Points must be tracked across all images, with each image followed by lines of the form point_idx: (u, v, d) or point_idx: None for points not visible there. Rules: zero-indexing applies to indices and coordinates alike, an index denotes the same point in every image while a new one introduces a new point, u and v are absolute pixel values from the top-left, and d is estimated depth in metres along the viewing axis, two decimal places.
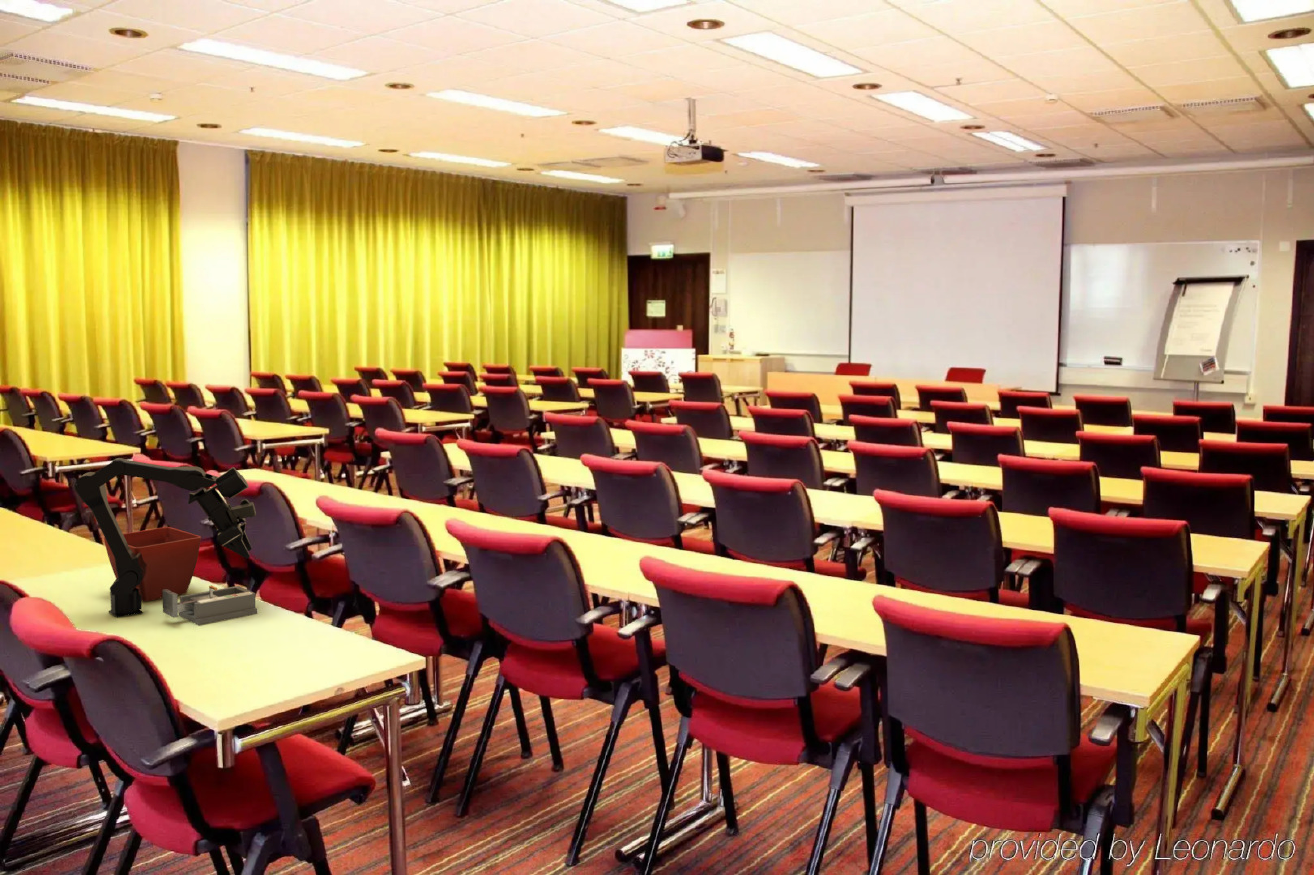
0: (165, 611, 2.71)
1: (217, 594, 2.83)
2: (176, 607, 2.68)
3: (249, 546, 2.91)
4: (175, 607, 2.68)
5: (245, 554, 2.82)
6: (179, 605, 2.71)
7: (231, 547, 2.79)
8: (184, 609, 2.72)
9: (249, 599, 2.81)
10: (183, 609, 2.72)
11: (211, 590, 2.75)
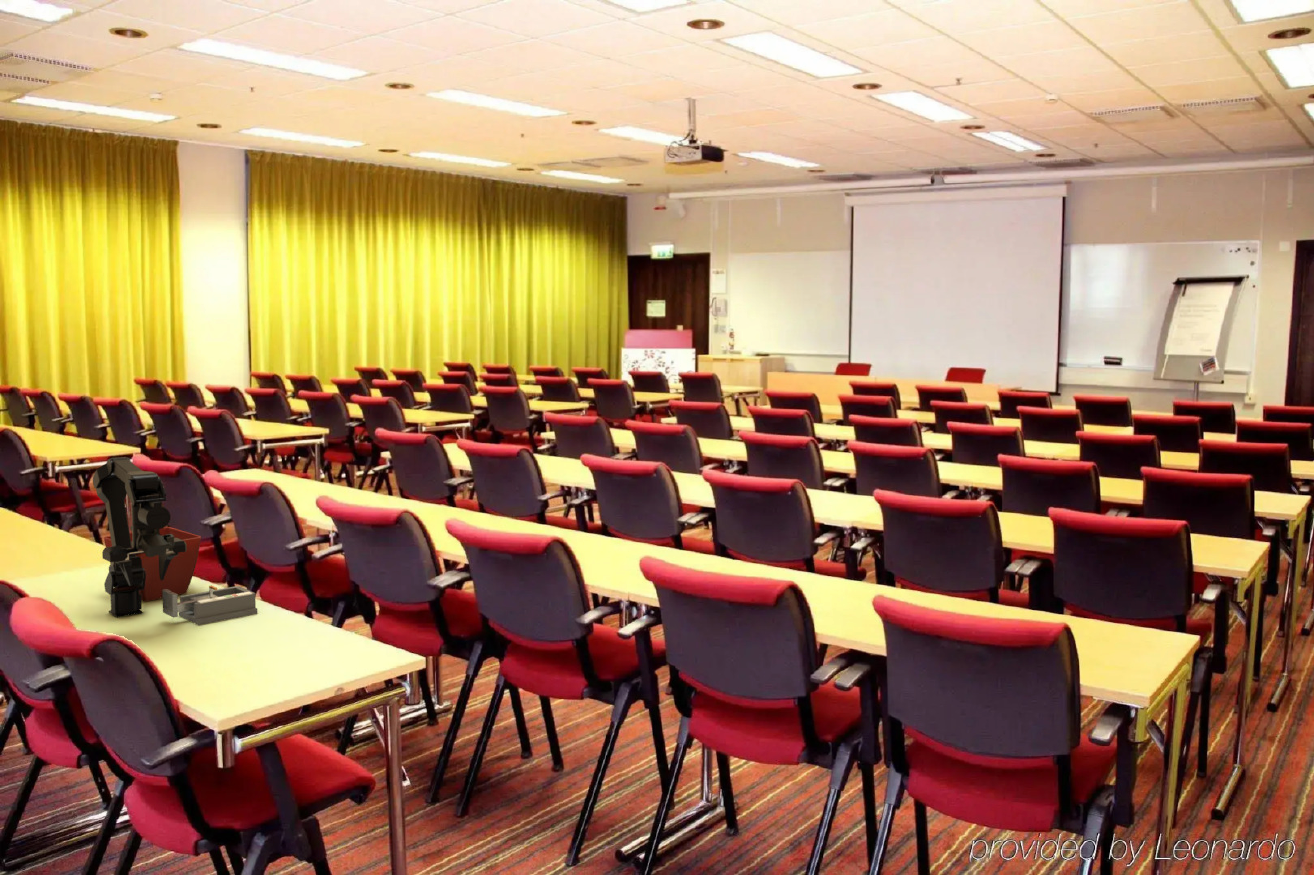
0: (165, 611, 2.71)
1: (217, 594, 2.83)
2: (176, 607, 2.68)
3: (161, 576, 2.67)
4: (175, 607, 2.68)
5: (128, 581, 2.62)
6: (179, 605, 2.71)
7: (120, 565, 2.62)
8: (184, 609, 2.72)
9: (249, 599, 2.81)
10: (183, 609, 2.72)
11: (211, 590, 2.75)
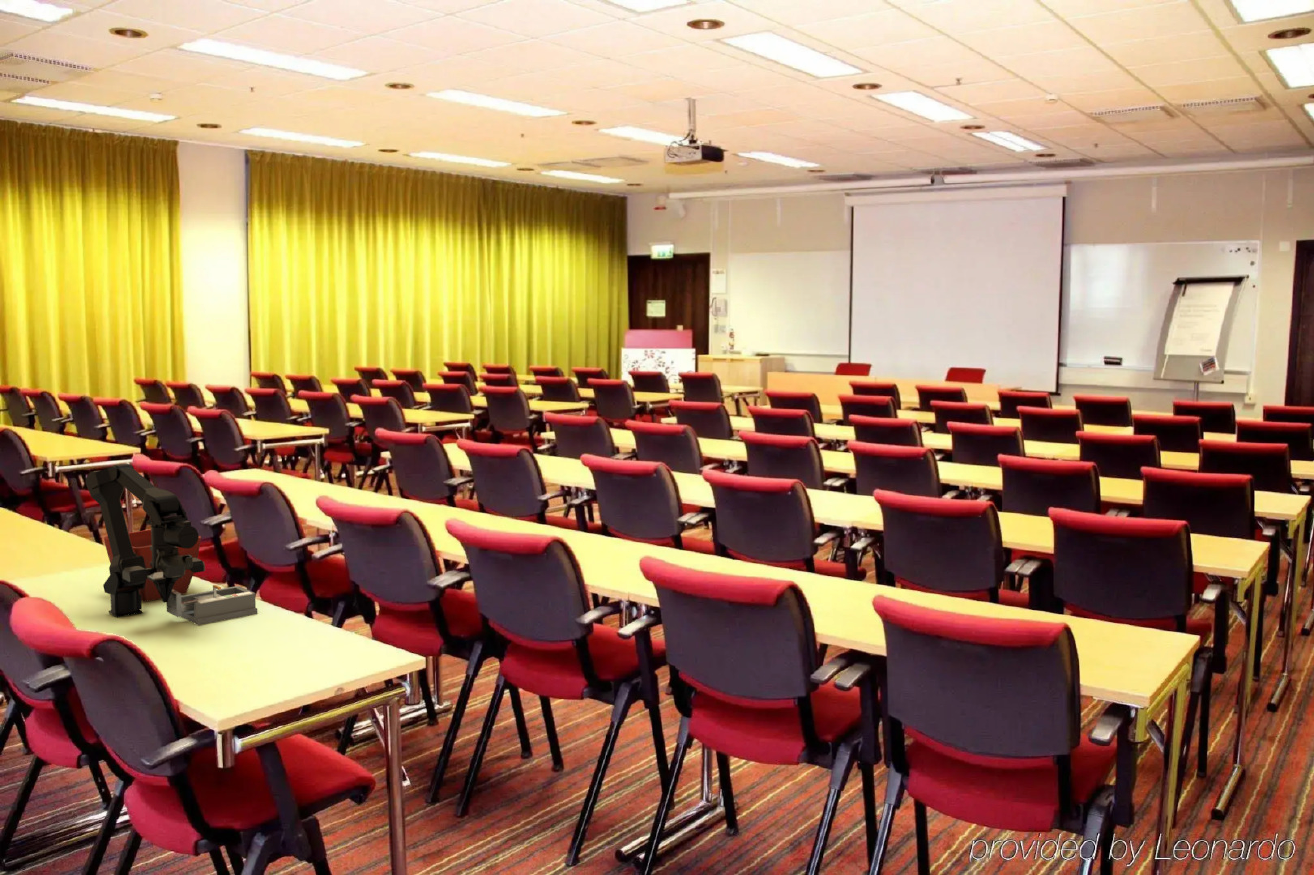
0: (169, 611, 2.72)
1: None
2: (180, 606, 2.69)
3: (165, 598, 2.69)
4: (179, 606, 2.69)
5: (163, 598, 2.69)
6: (183, 604, 2.72)
7: (154, 583, 2.68)
8: (188, 608, 2.73)
9: (249, 599, 2.81)
10: (187, 608, 2.73)
11: (215, 589, 2.76)
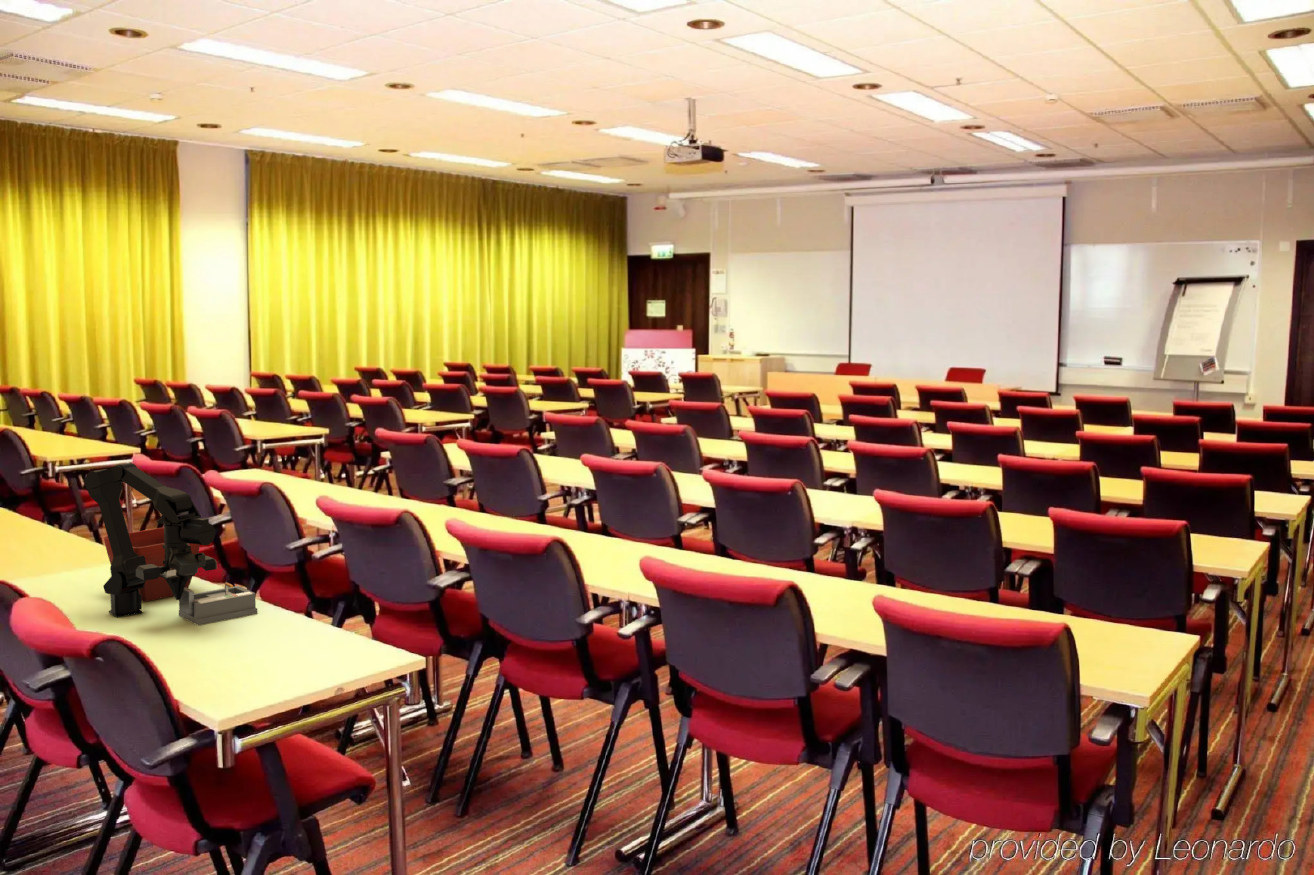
0: (182, 608, 2.74)
1: None
2: (192, 604, 2.71)
3: (178, 596, 2.71)
4: (191, 604, 2.71)
5: (175, 596, 2.71)
6: (195, 602, 2.74)
7: (167, 580, 2.71)
8: None
9: (249, 599, 2.81)
10: None
11: (227, 587, 2.78)
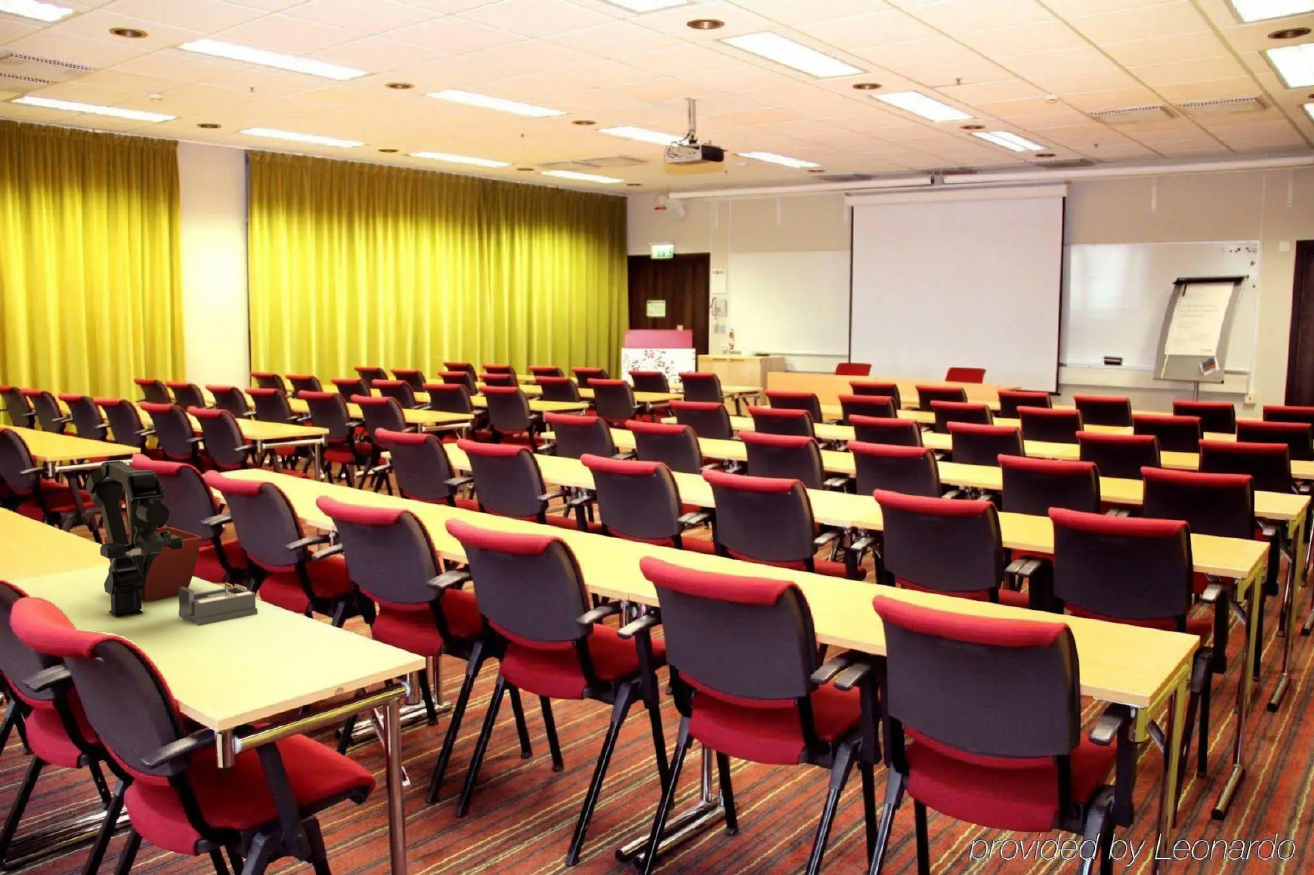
0: (182, 608, 2.74)
1: None
2: (192, 604, 2.71)
3: (144, 575, 2.68)
4: (191, 604, 2.71)
5: (141, 575, 2.68)
6: (195, 602, 2.74)
7: (132, 559, 2.68)
8: None
9: (249, 599, 2.81)
10: None
11: (227, 587, 2.78)
